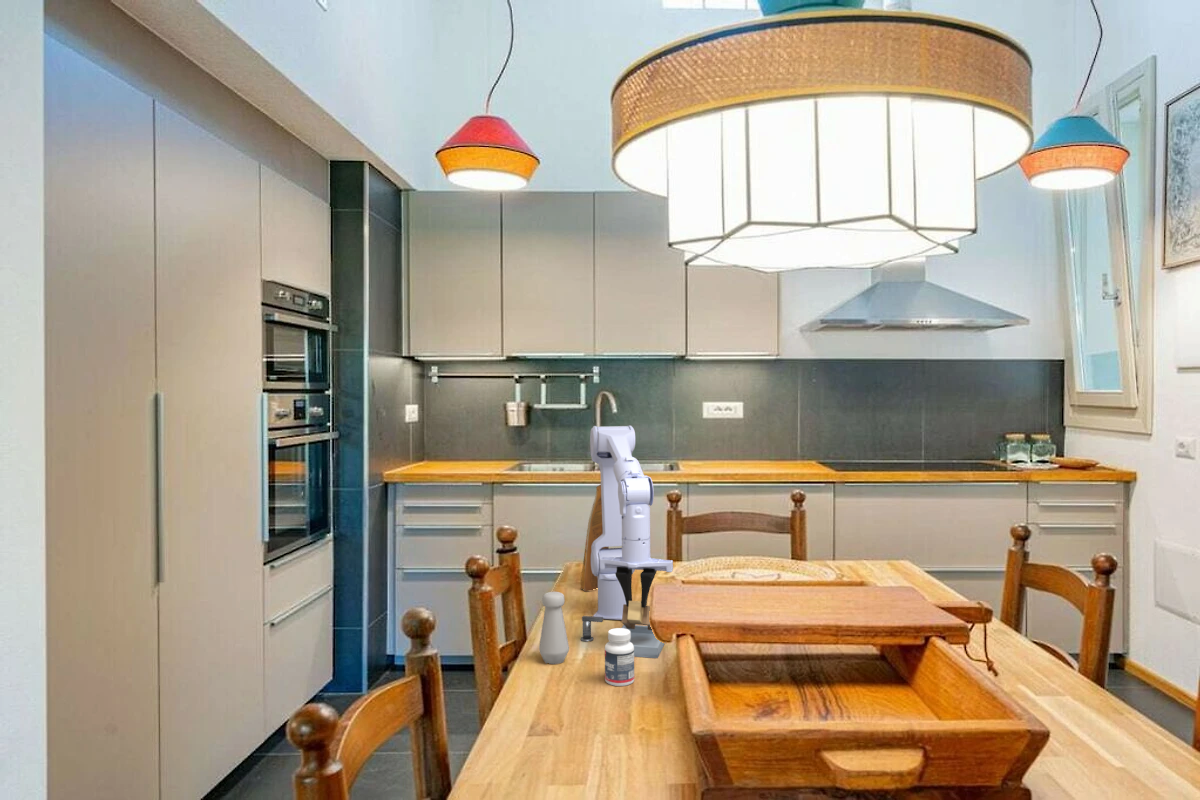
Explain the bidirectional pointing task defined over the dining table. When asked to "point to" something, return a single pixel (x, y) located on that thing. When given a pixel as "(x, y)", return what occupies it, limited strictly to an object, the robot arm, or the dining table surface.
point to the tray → (644, 642)
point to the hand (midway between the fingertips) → (636, 605)
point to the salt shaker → (553, 629)
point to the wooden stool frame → (635, 615)
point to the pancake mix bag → (592, 534)
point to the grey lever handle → (589, 627)
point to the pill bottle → (619, 658)
